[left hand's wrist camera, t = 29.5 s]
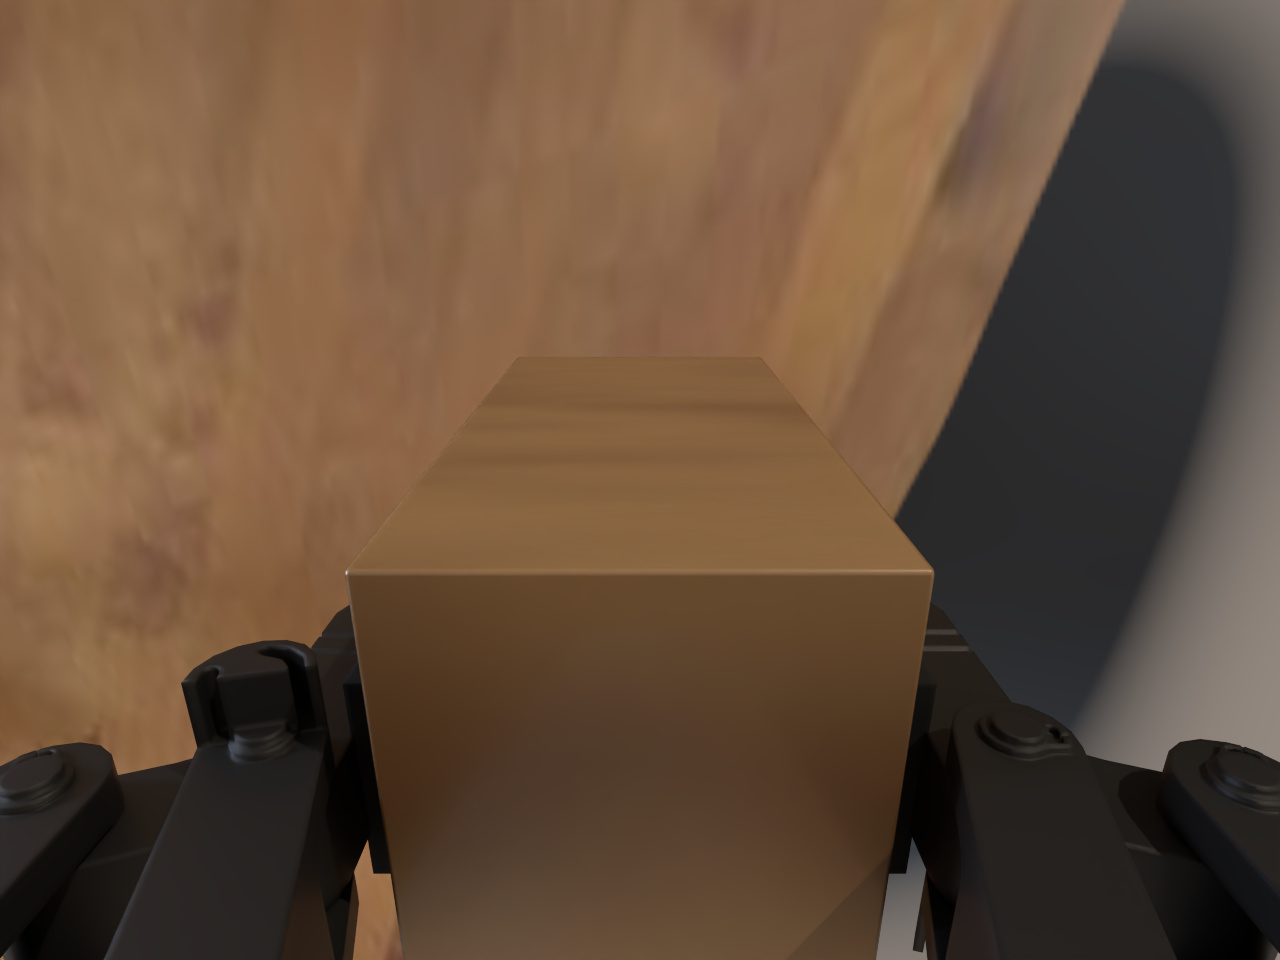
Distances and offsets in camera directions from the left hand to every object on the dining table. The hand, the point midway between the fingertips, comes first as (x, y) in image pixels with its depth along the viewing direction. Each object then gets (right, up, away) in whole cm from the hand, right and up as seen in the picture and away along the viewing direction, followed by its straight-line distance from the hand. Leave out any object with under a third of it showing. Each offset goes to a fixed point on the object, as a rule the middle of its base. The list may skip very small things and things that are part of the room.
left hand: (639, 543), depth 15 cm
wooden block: (0, +1, +2) cm, 2 cm away
